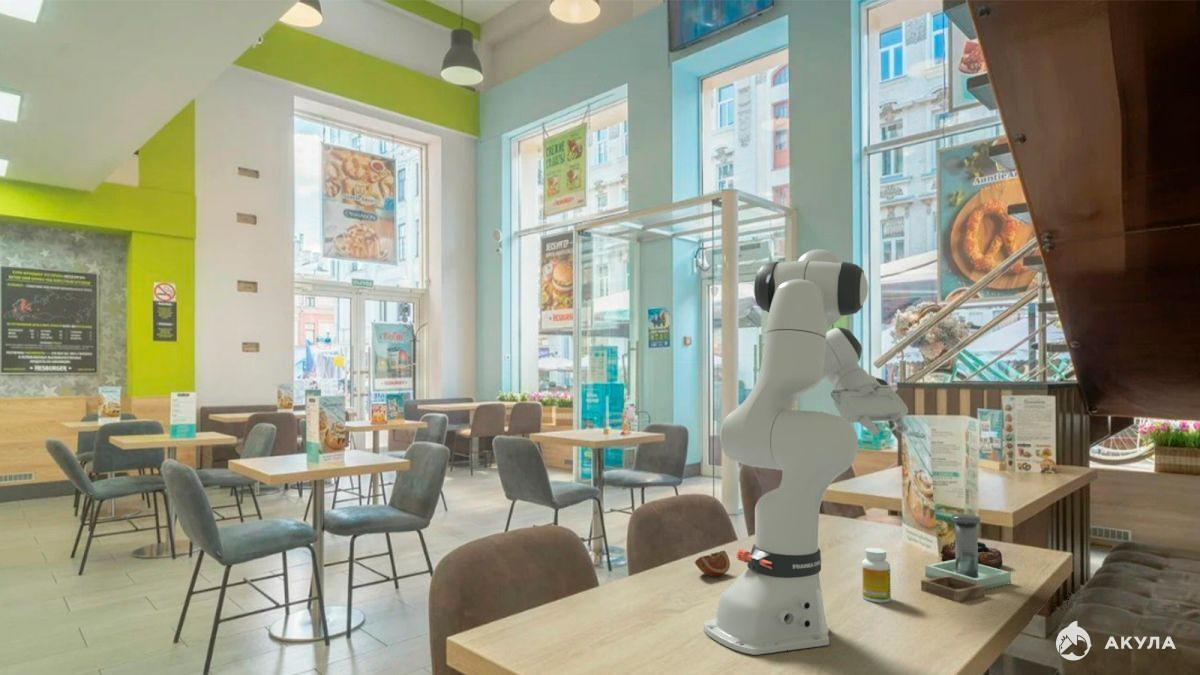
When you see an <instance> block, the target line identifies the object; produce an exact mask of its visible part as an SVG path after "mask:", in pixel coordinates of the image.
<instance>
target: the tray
mask: <svg viewBox="0 0 1200 675" xmlns="http://www.w3.org/2000/svg"><path fill="white" fill-rule="evenodd" d="M924 569H925V570H924V571H925V572H924V573H925V575H924V576H925V577H927V578H928V579H930V578H935V577H939V576H944V575H949V576H952V577H956V578H959V579H963V580H966V581H969V582H973V583H976V584H980V585H983V586H984V591H986V590H990V588H991V589H994V587H995V588H997V586H999V587H1002V586H1001V585H1003V586H1005V585H1004V584H1007V585H1009V584H1008V583H1011V584H1012V581H1011V580H1012V577H1011V576H1012V574H1011V572H1010V571H1007V570H1002V569H1000V568H999V569H996V568H992V567H989V566H985V565H981V564H978V578H972V577H968V576H965V575H961V574H958V573H956V559H954V560H950V561H945V562H942V561H941V562H935V563H931V564H926V565H924Z"/></svg>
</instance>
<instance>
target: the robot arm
mask: <svg viewBox="0 0 1200 675" xmlns="http://www.w3.org/2000/svg"><path fill="white" fill-rule="evenodd" d="M868 290H869V285H868V281H867V277H866V275H865V271H864V269H863V268H861V267H860V266H859V265H858V264H855V263H851V262H847V261H846V262H845V261H842V262H840V260H839V259H838V257H837V256H836V255H835V254H834V253H833V252H831V251H829V250H827V249H821V248H819V249H818V248H817V249H816V248H815V249H812V250H809V251H807V252H805V253H803V254H802V255H801V256H800V257H799V258H798V259H797V260H794V261H793V260H791V261H785V262H784V261H783V262H779V261H773V262H768V263H764V264H762V265H761V267H760V268H759V269H758V270H757V272H756V274H755V278H754V281H753V294H754V299H755V303H756V304H757V306H758V307H759V308H760V309H761V310H762V311H765V312H767V313H768V315H767V316H768V317H767V322H766V325H765V326H766V327H765V336H764V345H763V351H762V352H763V353H762V358H761V363H760V364H761V365H760V368H759V369H760V370H759V373H758V377H757V379H756V382H755V384H754V385H753V388H752V389H751V391H750V393H749V394H748V396H747V397H746V398H745V400H743V402H742V403H741V404H740V405H739V406H738V407H736V408H735V409H734V410H732V411H731V412H729V413H728V414H727V416H726V417H725V418H724V419H723V421H722V423H721V426H720V430H719V442H720V447H721V449H722V451H723V453H724V455H725V456H726V457H727V458H728V459H729V460H731V461H734V462H737V463H740V464H742V465H745V466H748V467H753V468H754V467H755V468H762V469H770V470H778V471H779V470H780V471H782V474H781V481H780V484H779V486H778V487H776V488H774V489H772V490H770V491H767V492H766V493H764V494H763V495H762V496H761V497H760V498H758V501H757V502H756V504H755V506H754V544H753V546H752V548H751V551H748V550H745V549H743V548H739V549H737V552H736V558H737V560H738V561H740V562H743V563H747V565H746V566H747V568H745V569H744V571H743V572H742V573H741V574H740V575H739V576H737V578H736V579H735V580H734V581H733V582H732V583H731V584H730V585H729V586H728V587H727V588H726V589H725V590H724V591H723V592H722V593H720V596H719V597H718V598H719V599H718V602H717V608H716V609H717V611H716V617H715V618H711V619H708V620H706V621H704V622H703V630H704V632H705V634H706V635H707V636H709V637H710V638H712V639H713V640H715V641H716V642H717V643H719V644H721V645H722V646H725V647H727V648H730V649H732V650H734V651H737V652H740V653H743V654H747V655H748V654H749V655H753V656H755V655H756V656H757V655H758V656H759V655H763V654H772V653H778V652H779V653H780V652H786V651H787V650H788V651H794V650H800V649H801V650H802V649H808V648H816V647H823V646H824V647H825V646H829V645H830V638H829V632H830V630H829V626H828V623H827V619H826V616H825V608H824V601H823V594H822V593H823V592H822V588H821V580H820V572H821V571H822V556H821V555H822V553H821V552H822V551H821V549H820V548H819V525H820V524H819V523H820V522H819V520H820V511H821V510H820V508H821V504H822V500H823V498H824V495H825V493H826V491H827V490H828V488H829V487H830V485H831V484H832V483H833V481H835V479H836V478H837V477H839V476H840V475H842V474H844V473H845V472H846V471H847V470H849V468H850V467H851V466H852V465H853V463H855V460H856V458H857V456H858V452H859V439H858V435H857V432H856V430H855V427H854V426H853V425H852V424H853V423H859V424H860V425H861V426H862V427H863V428H865V429H866V430H868V431H869V432H870V433H871V435H879V434H880V433H881V432H882V429H881V428H880V427H879V425H878V424H875V422H889V421H891V422H892V423H893V424H896V427H895V429H896V430H897V432H898V433H900V434H903V433H906V432H907V431H908V426H907V425H906V423H905V421H904V418H905V416H907V414H908V413H909V408H908V406H907V405H906V403H905V402H904V401H903V399H902V398H901V397H900V396H899V394H898V393H897V392H896V391H894V390H893V389H892V388H890V387H891V383H889V382H888V381H887V380H885V379H883V378H879V377H876V376H874V375H873V374H868V372H867V371H866V369H864V368H862V367H861V366H860V365H859V362H860V360H861V357H862V351H863V347H862V345H861V344H862V343H860V342H859V340H858V339H857V338H856V336H855V334H853V333H852V331H850V330H849V329H847V328H844V327H840V326H837V327H834V328H832V329H830V330H828V328H830V327H831V326H833V325H834V324H835V323H837V322H838V321H840V320H841V319H842V317H843V316H850V315H854V314H857V313H858V312H859V311H861V309H862V308H863V306H864V303H865V301H866V299H867V297H868V292H869V291H868ZM827 330H828V331H827ZM824 379H826V380H827V381H828V382H830V383H831V384H832V386H833V388H834V389H832V391H831V393H830V397H831V399H832V401H833V403H834V406H835V408H836V409H837V411H838V414H839V415H840V416H839V415H836V414H833V413H832V414H831V413H827V412H823V411H817V410H816V411H814V410H813V411H812V410H796V409H795V410H793V407H794V405H795V403H796V401H797V400H798V399H799V397H801V396H802V395H803V394H804V393H806V392H809V391H810V390H812V389H814V388H815V387H816V386H818V385H819V383H820V382H821V381H822V380H824ZM873 422H874V423H873Z"/></svg>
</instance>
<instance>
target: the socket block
mask: <svg viewBox="0 0 1200 675" xmlns="http://www.w3.org/2000/svg"><path fill="white" fill-rule="evenodd" d="M920 586H921V588H920V590H921V591H923V592H926V593H929V594H933V595H934V596H938V597H941V598H945V599H947V600H951V601H953V602H957V603H962V602H966V601H969V600H970V601H971V600H973V599H977V598H981V597H984V596H985V590H984V586H983V585H980V584H976V583H973V582H969V581H966V580H963V579H959V578H956V577H952V576H949V575H944V576H939V577H935V578H926V579H922V580H921V581H920Z"/></svg>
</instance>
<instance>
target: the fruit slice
mask: <svg viewBox="0 0 1200 675" xmlns="http://www.w3.org/2000/svg"><path fill="white" fill-rule="evenodd" d="M729 558H730V557H729V556H728V554H727V552H726V550H721V551H718V552H714V553H710V555H709V554H708V555H702V556H699V558H697V559H696V560H695V562H694V563H695V565H696V567H697V568H698V569H699V570H700V571H701V572H702V573H703V574H705V575H707V576H710V577H715V578H716V577H721V576H723V575H725V574H726V573H727V572H728V571H729V569H730V566H731V563H730V559H729Z"/></svg>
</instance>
